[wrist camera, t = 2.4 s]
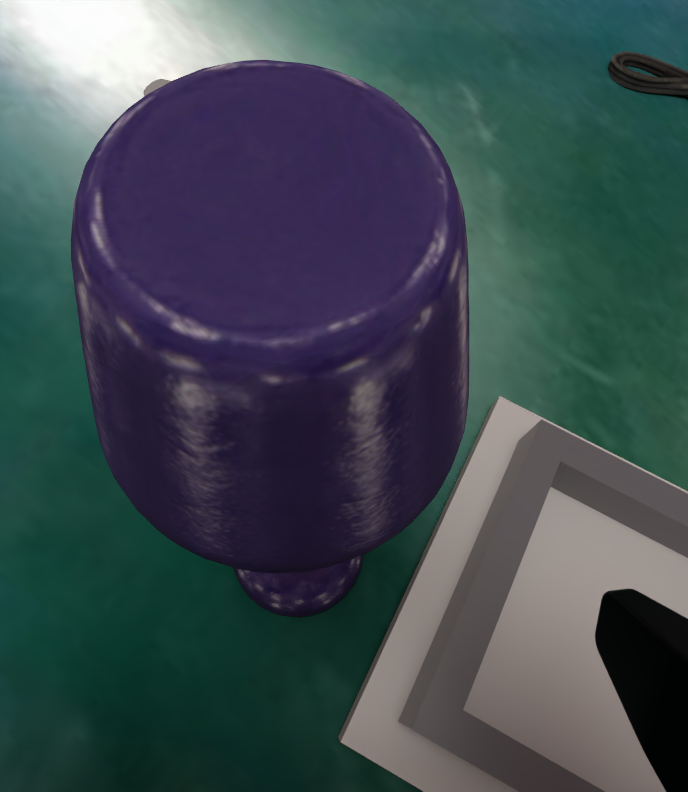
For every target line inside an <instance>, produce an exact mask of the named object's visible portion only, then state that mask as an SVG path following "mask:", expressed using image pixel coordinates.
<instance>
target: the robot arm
mask: <svg viewBox="0 0 688 792" xmlns="http://www.w3.org/2000/svg"><path fill="white" fill-rule="evenodd" d="M595 642H596V646H597V650H598V652H599V655H600V657H601V659H602V661H603V663H604V666H605V668H606V670H607V672H608V675H609V677H610V679H611V681H612V683H613V686H614V688H615V690H616V692H617V694H618V697H619V699H620V701H621V703H622V705H623V708H624V710H625V712H626V714H627V717H628V719H629V721H630V723H631V725H632V728H633V730H634V732H635V734H636V736H637V738H638V740H639V743H640V745H641V747H642V749H643V751H644V753H645V755H646V757H647V758H648V760H649V762H650V764H651V766H652V768H653V769H654V771H655V773H656V775H657V777H658V778H659V780H660V782H661V784H662V785H663V787H664V789H665V791H666V792H688V619H687V618H686V617H684V616H682V615H680V614H678V613H677V612H675V611H673V610H671V609H669V608H668V607H666V606H664V605H662V604H660V603H658V602H657V601H655V600H653V599H651V598H649V597H648V596H646V595H644V594H642V593H640V592H639V591H636V590H634V589H619V590H610V591H607V592H605V593H604V595H603V596H602V599H601V604H600V609H599V614H598V620H597V625H596V630H595Z"/></svg>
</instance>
